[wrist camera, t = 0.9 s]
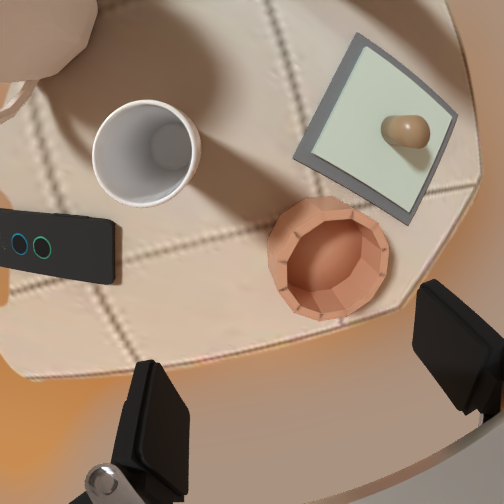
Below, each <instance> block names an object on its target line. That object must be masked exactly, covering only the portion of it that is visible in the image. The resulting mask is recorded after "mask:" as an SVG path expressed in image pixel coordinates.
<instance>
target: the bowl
mask: <svg viewBox="0 0 504 504" xmlns="http://www.w3.org/2000/svg"><path fill="white" fill-rule="evenodd" d="M267 249H268V266H269V270H270V272H271V275H272V277H273V280H274V283H275V285H276V288H277V290H278V292H279V294H280V295H281V296H282V297H283V299H284V300H285V301H286V303H287V304H288V305H289V307H290V308H291V309H292V311H293V312H294V313H296V314H299V315H302V316H305V317H308V318H311V319H314V320H317V321H324V320H330V319H336V318H341V317H347V316H348V315H350V314H351V313H353V312H354V311H356V310H357V309H359V308H360V307H362V306H363V305H364V304H366V303H367V302H369V301H370V300H371V299H372V297H373V296H374V294H375V293H376V291H377V290H378V288H379V286H380V285H381V283H382V282H383V280H384V278H385V277H386V274H387V266H388V257H389V245H388V243H387V241H386V239H385V236H384V234H383V232H382V230H381V228H380V226H379V223H378V222H376V221H375V220H373V219H371V218H370V217H368V216H366V215H365V214H363V213H361V212H360V211H358V210H356V209H355V208H353V207H351V206H349V205H347V204H346V203H344V202H342V201H340V200H338V199H337V198H335V197H333V196H328V197H313V198H304V199H303V200H301V201H300V202H298V203H297V204H295V205H294V206H292V207H291V208H289V209H288V210H286V211H285V212H283V213H282V214H281V215H280V216H279V218H278V220H277V222H276V224H275V226H274V228H273V230H272V232H271V234H270V236H269V238H268V240H267Z"/></svg>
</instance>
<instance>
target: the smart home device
mask: <svg viewBox="0 0 504 504" xmlns="http://www.w3.org/2000/svg"><path fill="white" fill-rule="evenodd" d="M0 266H1V267H6V268H11V269H16V270H21V271H26V272H32V273H37V274H43V275H48V276H54V277H60V278H66V279H72V280H78V281H84V282H91V283H97V284H104V285H109V284H112V283H113V281H114V280H115V223H114V222H113V221H111V220H109V219H102V218H92V217H89V216H80V215H69V214H59V213H54V214H51V213H40V212H29V211H18V210H13V209H6V208H0Z"/></svg>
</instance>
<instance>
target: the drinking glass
mask: <svg viewBox="0 0 504 504" xmlns="http://www.w3.org/2000/svg"><path fill="white" fill-rule="evenodd" d="M201 151H202V146H201V139H200V135H199V132H198V130H197V128H196V126H195V124H194V123H193V121H192V120H191V119H190V118H189V117H188V116H187V115H186V114H185V113H184V112H182V111H181V110H179V109H178V108H176V107H174V106H172V105H170V104H167V103H164V102H161V101H156V100H138V101H133V102H130V103H128V104H125V105H123V106H121V107H119V108H118V109H116V110H115V111H114V112H113V113H111V114H110V115H109V116H108V117H107V118H106V120H105V121H104V122H103V123H102V125H101V126H100V128H99V130H98V132H97V134H96V137H95V140H94V144H93V149H92V163H93V169H94V172H95V175H96V178H97V180H98V182H99V184H100V185H101V187H102V188H103V189H104V191H105V192H106V193H107V194H108V195H109V196H111V197H112V198H113V199H115V200H116V201H118V202H120V203H122V204H124V205H127V206H131V207H136V208H148V207H154V206H158V205H160V204H163V203H165V202H167V201H169V200H171V199H172V198H173V197H175V196H176V195H177V194H178V193H179V192H180V191H181V190H182V189H183V188H184V187H185V186H186V185H187V184H188V183H189V182H190V180H191V179H192V177H193V176H194V174H195V172H196V170H197V168H198V165H199V162H200V158H201Z"/></svg>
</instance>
